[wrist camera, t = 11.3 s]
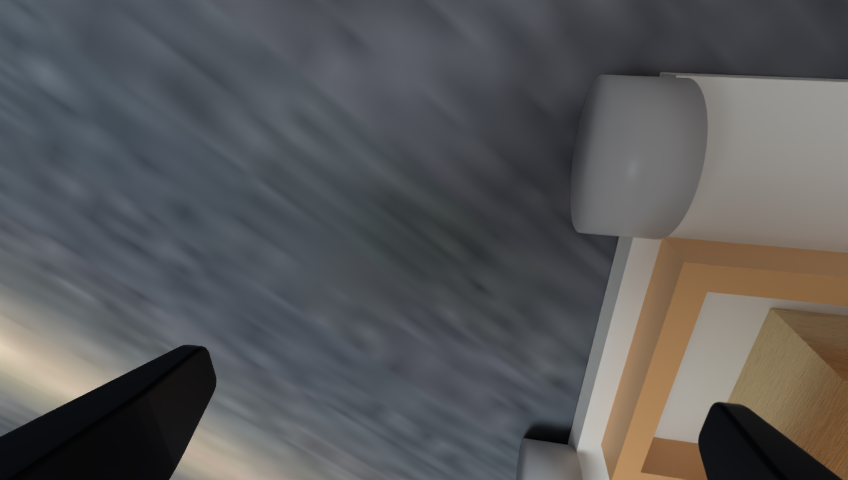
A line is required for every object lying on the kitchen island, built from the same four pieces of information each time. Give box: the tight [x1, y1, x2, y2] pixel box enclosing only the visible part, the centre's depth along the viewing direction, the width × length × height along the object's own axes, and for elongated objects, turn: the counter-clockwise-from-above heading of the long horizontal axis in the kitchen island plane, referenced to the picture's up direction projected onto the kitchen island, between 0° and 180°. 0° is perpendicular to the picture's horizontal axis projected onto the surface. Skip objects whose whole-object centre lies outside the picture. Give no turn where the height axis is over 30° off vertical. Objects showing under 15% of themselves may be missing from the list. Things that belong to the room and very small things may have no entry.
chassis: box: [516, 72, 848, 480], centre depth 16 cm, size 22×20×5 cm
